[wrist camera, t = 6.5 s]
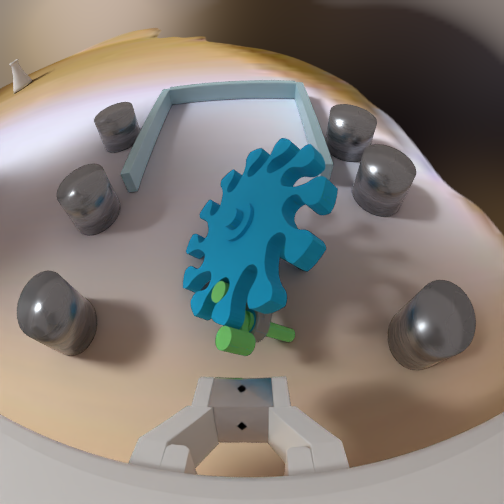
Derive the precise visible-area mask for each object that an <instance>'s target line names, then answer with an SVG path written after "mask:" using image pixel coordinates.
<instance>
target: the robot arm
mask: <svg viewBox="0 0 504 504" xmlns="http://www.w3.org/2000/svg"><path fill="white" fill-rule="evenodd" d="M218 442H228V443H237V442H246V443H268V444H269V445H270V446H271V447H272V449H273V450H274V451H275V452H276V453H277V454H278V456H279V457H280V458H281V459H282V460H283V461H284V462H285V472H284V476H277V477H222V476H206V475H197V472H196V469H195V468H196V467H197V466H198V465H199V464H200V463H201V462H202V461H203V460H204V459H205V458H206V457H207V456H208V454H209V453H210V452H211V451H212V450H213V449H214V448H215V447H216V446H217V445H218V444H219V443H218ZM0 504H504V412H502V413H500V414H499V415H497V416H495V417H493V418H491V419H489V420H488V421H486V422H484V423H482V424H480V425H478V426H476V427H474V428H472V429H469V430H467V431H465V432H463V433H461V434H458V435H456V436H454V437H451V438H449V439H446V440H444V441H441V442H439V443H436V444H434V445H431V446H428V447H425V448H423V449H420V450H417V451H414V452H411V453H407V454H404V455H401V456H397V457H394V458H390V459H387V460H383V461H379V462H375V463H370V464H366V465H361V466H357V467H352V468H350V467H349V464H348V461H347V457H346V454H345V451H344V447H343V444H342V441H341V440H340V439H338V438H337V437H335V436H334V435H333V434H331V433H330V432H329V431H327V430H326V429H325V428H323V427H322V426H321V425H319V424H318V423H317V422H315V421H314V420H313V419H311V418H310V417H309V416H307V415H306V414H305V413H304V412H302V411H301V410H300V409H298V408H297V407H296V406H291V402H290V396H289V390H288V383H287V377H286V376H280V377H271V378H223V377H215V378H214V377H200V378H199V380H198V384H197V387H196V391H195V394H194V398H193V402H192V405H191V406H186V407H185V408H183V409H182V410H180V411H179V412H177V413H176V414H175V415H173V416H172V417H170V418H169V419H167V420H166V421H164V422H163V423H161V424H160V425H158V426H157V427H155V428H154V429H152V430H151V431H149V432H148V433H146V434H144V435H143V436H141V437H140V438H139V439H138V441H137V444H136V446H135V449H134V451H133V453H132V456H131V458H130V460H129V463H124V462H120V461H116V460H113V459H109V458H105V457H102V456H98V455H95V454H92V453H89V452H86V451H83V450H80V449H77V448H74V447H71V446H68V445H66V444H63V443H60V442H58V441H55V440H53V439H50V438H48V437H46V436H43V435H41V434H39V433H36V432H34V431H32V430H30V429H28V428H26V427H24V426H22V425H20V424H18V423H16V422H14V421H12V420H10V419H8V418H6V417H5V416H3V415H1V414H0Z"/></svg>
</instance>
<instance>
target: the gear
mask: <svg viewBox="0 0 504 504" xmlns="http://www.w3.org/2000/svg"><path fill="white" fill-rule="evenodd" d="M324 170H325V161H324V158H323V156H322V155H321V153H319V152H318V151H317V150H316V149H315V148H314V147H313V146H312V145H311V144H308V145H306V146H304V147H303V148H302V149H301V150H300V149H299V148H298V147H297V146H295V145H294V144H293V143H292V142H291V141H290V140H288V139H285V138H281V139H280V140H279V141H278V142H277V143H276V145H275V146H274V148H273V151H272V153H271V155H270V154H268V153H267V152H266V151H265V150H263V149H262V148H260V149H256V150H254V151H252V152H250V154H249V155H248V157H247V160H246V167H245V170H244V173H243V175H241V174H239V173H238V172H237V171H235V170H232V171H230V172H229V173H228V174H227V175H226V176H225V177H224V178H223V179H222V181H221V187H222V190H223V197H222V201H221V205H219V204H217V203H215V202H214V201H212V200H209V201H208V202H207V203H206V205H205V206H204V208H203V209H202V211H201V212H200V218H201V219H203V220H205V221H207V222H208V228H209V231H208V234H207V237H206V238H204V237H202V236H200V235H198V234H193V235H192V237H191V239H190V241H189V244H188V246H187V249H186V253H187V254H189V255H192V256H194V257H196V258H198V259H200V258H202V257H203V256H205V258H204V261H203V264H202V265H201V267H200V268H199V269H197V268H195V267H193V266H190V267H188V268H187V269H186V271H185V274H184V279H183V288H185V289H188V290H190V291H193V292H195V294H194V295H193V297H192V299H191V309H192V312H193V314H194V316H196V317H199V318H202V319H205V320H210V319H211V318H212V319H213V321H214V322H216V323H218V324H221V325H224V326H223V327H221V328H220V329H219V331H218V332H217V335H216V340H215V343H216V347H217V348H218V349H219V350H221V351H226V352H230V353H234V354H239V355H244V356H248V355H250V354H251V353H252V352H253V350H254V348H255V343H256V342H259V341H261V340H263V339H264V338H265V336H267V337H271V338H274V339H278V340H282V341H286V342H291V341H293V339H294V338H295V331H294V330H293V329H290V328H287V327H284V326H281V325H278V324H275V323H272V322H271V315H272V313H273V312H276V311H278V310H280V309H281V308H283V307H285V305H286V302H287V293H286V291H285V289H284V288H283V286H282V284H281V282H280V278H279V260H280V258H282V259H284V260H286V261H287V262H289V263H291V264H293V265H294V266H296V267H298V268H300V269H301V270H304V271H309V270H310V269H311V268H312V267H313V266H314V265H315V264H316V263H317V262H318V260H319V259H320V258H321V256H322V255H323V253H324V252H325V250H326V245H325V244H324V242H323V241H322V240H320V239H319V238H318V237H316V236H315V235H313V234H312V233H311V232H309V231H308V230H299V229H298V228H297V226H296V224H295V221H294V217H295V214H296V212H297V210H298V209H299V208H300V207H301V206H303V205H305V204H306V205H307V206H308V207H310V208H311V209H312V210H313V211H315V212H316V213H317V214H319V215H327V214H329V213H331V211H332V209H333V207H334V205H335V202H336V197H337V191H338V189H337V188H336V187H335V186H334V185H333V184H332V183H331V182H330V181H329V180H328V179H327V178H326V177H324V176H318V175H319V174H321V173H322V172H323V171H324ZM316 176H318V177H316ZM301 177H316V178H313V179H312V180H310V181H309V182H307V183H305V184H303V185H300V186H296V187H293V185H294V184H295V182H296V181H297V180H298V179H300V178H301ZM210 280H211V281H210ZM209 281H210V283H209V285H208V287H207V288H206V289H205V290H202V291H201V289H202V288H203V287H204V286H205V284H206V283H207V282H209Z"/></svg>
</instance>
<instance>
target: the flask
mask: <svg viewBox="0 0 504 504" xmlns="http://www.w3.org/2000/svg"><path fill="white" fill-rule="evenodd" d="M10 66H11V67H12V72H13V87H14V93H16V92H17V91H19V90H21V89H23V88H24V87H25V86H27V85H28V84H29V83H30V82H31V81H32V79H31V78H30V77H29V76H28V75H27V74H26V73H25V72H24V71H23V70H22V69H21V67H20V65H19V63H18V59H17V60H15V61H14V62H12V63H11V64H10Z"/></svg>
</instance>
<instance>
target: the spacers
mask: <svg viewBox="0 0 504 504" xmlns="http://www.w3.org/2000/svg"><path fill="white" fill-rule="evenodd" d="M94 122H95V125H96V127H97V130H98V132H99V135H100V137H101V139H102V142H103V144H104V147H105V149H106V150H107V151H108V152H119V151H122V150H125V149H127V148H129V147H131V146H132V145H134V143H135V141H136V139H137V137H138V135H139V133H140V129H139V126H138V123H137V119H136V116H135V113H134V109H133V106H132V104H131V103H129V102H121V103H117V104H114V105H111V106H109V107H107V108H105V109H104V110H102V111H101V112H100V113H99V114H98V115H97V116H96V117H95V119H94ZM376 125H377V120H376V118H375V117H374V116H373V115H372V114H371V113H370V112H368V111H367V110H365V109H363V108H360V107H357V106H353V105H348V104H340V105H335V106H333V107H332V108H331V110H330V116H329V122H328V128H327V134H326V140H325V141H326V144H327V147H328V150H329V153H331V154H332V155H333V156H335V157H337V158H339V159H341V160H345V161H349V162H358V161H361V162H360V166H359V169H358V172H357V175H356V179H355V182H354V185H353V188H352V193H353V197H354V199H355V200H356V202H357V203H358V204H359V205H360V206H361V207H362V208H363V209H364V210H366V211H368V212H370V213H372V214H374V215H378V216H391V215H393V214H395V213H396V212H397V211H398V210H399V208H400V206H401V204H402V202H403V200H404V198H405V196H406V194H407V192H408V190H409V188H410V186H411V184H412V182H413V180H414V178H415V176H416V169H415V166H414V164H413V162H412V161H411V160H410V159H409V158H408V157H407V156H406V155H405V154H403V153H402V152H401V151H399V150H397V149H395V148H393V147H390V146H386V145H381V144H375V145H371V142H372V138H373V135H374V132H375V128H376ZM57 200H58V201H59V203H60V204H61V206H62V207H63V209H64V210H65V211H66V213H67V214H68V216H69V217H70V219H71V220H72V221H73V223H74V224H75V225H76V227H77V228H78V230H79V231H80V232H81V233H83V234H85V235H94V234H98V233H100V232H102V231H104V230H105V229H107V228H108V227H109V226H110V225H111V224H112V223H113V222H114V221H115V220H116V218H117V217H118V215H119V212H120V202H119V200H118V198H117V196H116V194H115V192H114V190H113V188H112V186H111V184H110V182H109V180H108V178H107V176H106V174H105V172H104V170H103V168H102V166H100V165H98V164H88V165H84V166H82V167H80V168H78V169H76V170H74V171H73V172H72V173H70V174H69V175H68V176H67V177H66V178H65V179H64V180H63V182H62V183H61V184H60V186H59V188H58V191H57ZM17 319H18V323H19V326H20V328H21V330H22V331H23V332H24V333H25V334H26V335H27V336H29V337H31V338H33V339H35V340H36V341H38V342H40V343H42V344H44V345H46V346H48V347H50V348H52V349H54V350H56V351H58V352H60V353H62V354H65V355H76V354H79V353H81V352H82V351H84V350H85V349H86V348H87V347H88V346H89V344H90V343H91V341H92V340H93V338H94V335H95V332H96V327H97V316H96V312H95V309H94V308H93V306H92V304H91V303H90V302H89V301H88V300H87V299H85V298H84V297H83V296H82V295H81V294H80V293H79V292H77V291H76V290H75V289H74V288H73V287H72V286H71V285H70V284H69V283H67V282H66V281H65V280H64V279H63V278H62V277H61V276H60V275H59V274H58V273H56V272H53V271H44V272H41V273H39V274H37V275H35V276H34V277H33V278H32V279H31V280H30V281H29V282H28V283H27V284H26V286H25V287H24V289H23V291H22V293H21V295H20V298H19V301H18V306H17ZM475 326H476V320H475V313H474V309H473V306H472V304H471V302H470V300H469V298H468V297H467V295H466V294H465V293H464V291H463V290H462V289H461V288H459V287H458V286H457V285H455V284H454V283H452V282H449V281H445V280H436V281H433V282H431V283H429V284H427V285H426V286H425V287H424V288H423V289H422V290H421V291H420V292H419V293H418V294H417V295H416V296H415V297H414V298H413V299H412V300H410V301H409V302H408V303H407V304H406V305H405V306H404V307H403V308H402V309H401V310H400V311H399V312H397V313H396V314H395V316H394V317H393V319H392V320H391V322H390V325H389V329H388V343H389V347H390V350H391V352H392V354H393V356H394V358H395V359H396V360H397V361H398V362H399V363H400V364H401V365H402V366H404V367H406V368H408V369H411V370H422V369H425V368H427V367H430V366H432V365H435V364H437V363H439V362H441V361H444V360H446V359H448V358H450V357H452V356H455V355H457V354H459V353H461V352H462V351H464V350H465V349H466V348H467V347H468V346H469V345H470V343H471V341H472V339H473V336H474V333H475Z"/></svg>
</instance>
